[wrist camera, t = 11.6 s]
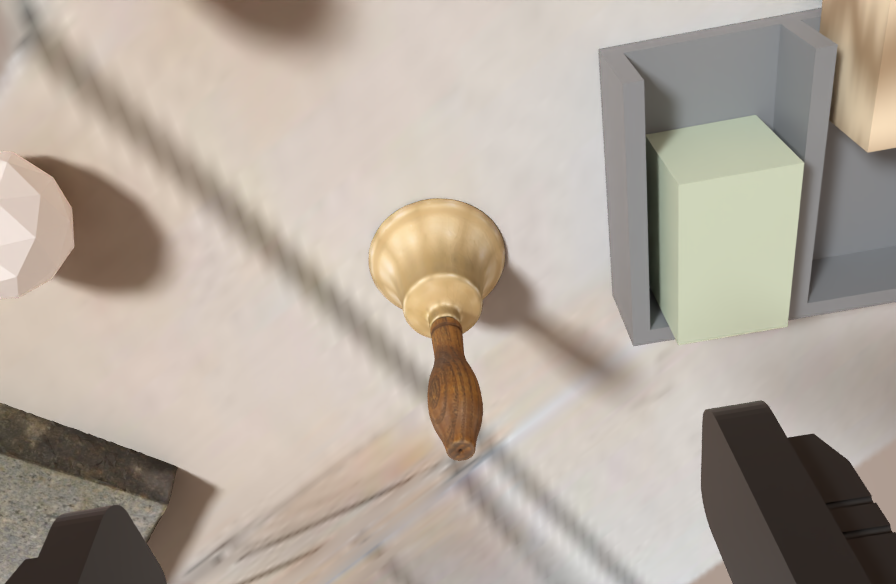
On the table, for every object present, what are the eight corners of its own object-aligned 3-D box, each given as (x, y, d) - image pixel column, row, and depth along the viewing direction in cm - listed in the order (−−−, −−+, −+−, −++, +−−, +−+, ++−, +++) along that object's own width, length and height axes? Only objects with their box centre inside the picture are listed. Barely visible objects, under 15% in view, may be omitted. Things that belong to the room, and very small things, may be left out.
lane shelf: (598, 49, 41) (622, 84, 37) (966, -20, 40) (1035, 8, 36) (612, 295, 50) (633, 346, 46) (913, 243, 49) (963, 290, 45)
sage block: (645, 134, 43) (678, 185, 38) (756, 114, 42) (804, 162, 37) (648, 284, 48) (678, 345, 43) (746, 267, 48) (787, 327, 43)
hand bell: (510, 198, 46) (559, 377, 33) (499, 313, 51) (538, 510, 37) (367, 196, 45) (359, 379, 32) (369, 313, 50) (362, 514, 37)
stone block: (120, 568, 63) (101, 626, 59) (-153, 487, 56) (-196, 546, 52) (187, 461, 57) (171, 517, 53) (-109, 356, 50) (-154, 411, 46)
